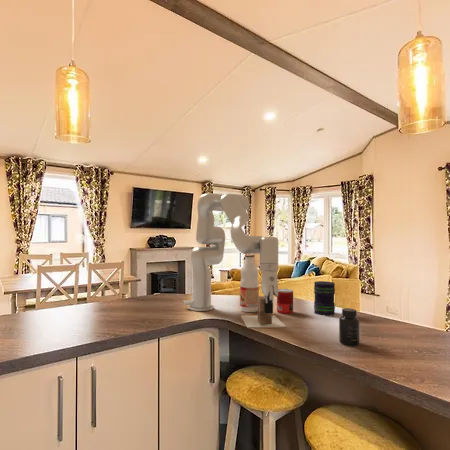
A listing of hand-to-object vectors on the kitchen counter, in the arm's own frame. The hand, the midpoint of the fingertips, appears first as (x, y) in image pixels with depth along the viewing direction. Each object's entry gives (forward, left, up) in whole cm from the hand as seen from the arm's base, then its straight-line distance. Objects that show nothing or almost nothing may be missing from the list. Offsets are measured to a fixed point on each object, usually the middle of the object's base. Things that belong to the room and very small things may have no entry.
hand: (268, 312), depth 129 cm
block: (0, +7, -6) cm, 10 cm away
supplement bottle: (+25, -18, -7) cm, 32 cm away
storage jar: (+34, +25, -7) cm, 43 cm away
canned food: (+15, +28, -7) cm, 33 cm away
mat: (0, +12, -7) cm, 14 cm away
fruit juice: (-2, +33, -7) cm, 34 cm away
